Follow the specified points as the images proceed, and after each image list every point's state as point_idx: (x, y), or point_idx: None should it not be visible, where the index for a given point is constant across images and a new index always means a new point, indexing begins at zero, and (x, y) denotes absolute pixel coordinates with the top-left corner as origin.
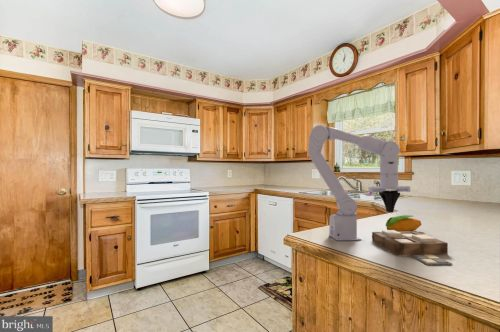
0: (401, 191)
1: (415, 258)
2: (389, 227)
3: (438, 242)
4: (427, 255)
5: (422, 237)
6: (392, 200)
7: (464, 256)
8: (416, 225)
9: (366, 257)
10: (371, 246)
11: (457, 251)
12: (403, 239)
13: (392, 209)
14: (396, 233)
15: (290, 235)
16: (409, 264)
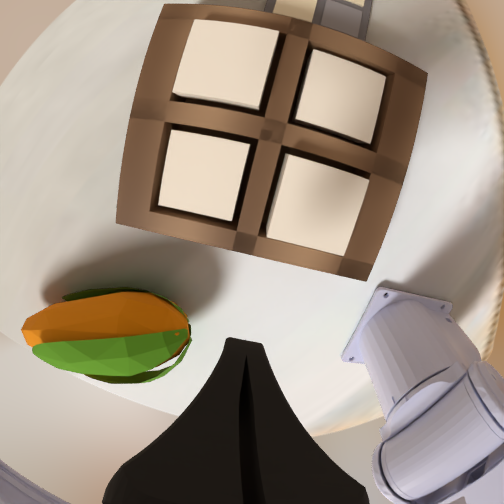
0: (50, 494)
1: (366, 26)
2: (188, 329)
3: (198, 13)
4: (303, 13)
5: (249, 45)
6: (236, 435)
7: (140, 6)
8: (49, 308)
9: (490, 126)
10: (406, 207)
11: (104, 55)
12: (319, 116)
13: (238, 353)
14: (325, 165)
15: None
16: (420, 19)
